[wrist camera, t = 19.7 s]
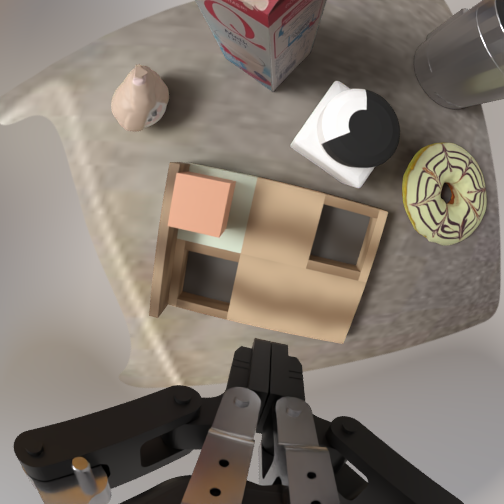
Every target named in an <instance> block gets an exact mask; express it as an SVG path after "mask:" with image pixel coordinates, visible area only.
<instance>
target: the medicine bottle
mask: <svg viewBox="0 0 504 504" xmlns="http://www.w3.org/2000/svg"><path fill="white" fill-rule="evenodd" d="M399 137H400V127H399V122H398V119H397V116H396V114H395V112H394V110H393V109H392V107H391V106H390V105H389V103H388V102H387V101H386V100H385V99H383V98H382V97H381V96H379V95H378V94H376V93H374V92H371V91H368V90H365V89H350V88H349V87H347V86H346V85H344V84H343V83H341V82H340V81H335V82H334V83H333V84H332V86H331V87H330V89H329V90H328V91H327V93H326V94H325V96H324V97H323V98H322V100H321V101H320V103H319V104H318V106H317V107H316V108H315V110H314V111H313V113H312V114H311V116H310V117H309V118H308V120H307V121H306V123H305V124H304V126H303V127H302V129H301V130H300V131H299V133H298V134H297V136H296V137H295V139H294V140H293V142H292V143H291V148H292V149H294V150H295V151H297V152H298V153H300V154H301V155H303V156H304V157H306V158H307V159H308V160H310V161H311V162H313V163H314V164H316V165H317V166H318V167H320V168H321V169H323V170H324V171H326V172H327V173H328V174H330V175H331V176H333V177H334V178H335V179H337V180H338V181H339V182H341V183H343V184H346V185H349V186H353V187H356V188H360V187H361V186H362V185H363V184H364V182H365V181H366V179H367V178H368V176H369V175H370V173H371V172H372V170H373V169H374V167H375V166H378V165H380V164H382V163H384V162H386V161H387V160H388V159H389V158H390V157H391V156H392V155H393V153H394V152H395V150H396V148H397V146H398V142H399Z"/></svg>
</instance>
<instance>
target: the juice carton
mask: <svg viewBox="0 0 504 504" xmlns="http://www.w3.org/2000/svg"><path fill="white" fill-rule="evenodd" d="M195 1H196V3H197V5H198V7H199V9H200V10H201V12H202V14H203V16H204V18H205V20H206V22H207V23H208V25H209V27H210V29H211V31H212V33H213V35H214V37H215V39H216V41H217V42H218V44H219V46H220V48H221V50H222V52H223V54H224V56H225V58H226V59H227V60H229V61H230V62H232V63H233V64H235V65H236V66H237V67H239V68H240V69H242V70H243V71H245V72H246V73H247V74H249V75H250V76H252V77H253V78H254V79H256V80H257V81H258V82H260V83H261V84H263V85H264V86H265V87H267V88H268V89H269V90H271V91H272V92H273V91H274V90H275V89H276V88H277V87H278V86H279V85H280V84H281V83H282V82H283V81H284V79H285V78H286V77H287V76H288V75H289V74H290V73H291V72H292V71H293V70H294V69H295V68H296V67H297V66H298V65H299V64H300V63H301V62H302V61H303V60H304V59H305V58H306V57H307V56H308V55H309V54H310V53H311V50H312V47H313V43H314V40H315V37H316V33H317V30H318V27H319V24H320V20H321V17H322V14H323V10H324V7H325V4H326V0H195Z"/></svg>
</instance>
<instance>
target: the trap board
mask: <svg viewBox="0 0 504 504" xmlns="http://www.w3.org/2000/svg"><path fill="white" fill-rule="evenodd" d="M179 172H193V173H199V174H204V175H209V176H214V177H219V178H224V179H228V180H233V181H236V184H235V189H234V194H233V198H232V203H231V208H230V213H229V218H228V222H227V227H226V230H225V231H224V232H223V234H222V235H221V236H220V238H218V237H214V236H209V235H205V234H201V233H196V232H192V231H188V230H183V229H179V228H175V227H170V226H168V220H169V214H170V208H171V202H172V196H173V190H174V185H175V179H176V174H177V173H179ZM387 214H388V212H387V211H384V210H382V209H380V208H376V207H373V206H370V205H366V204H363V203H359V202H356V201H352V200H349V199H345V198H342V197H338V196H334V195H331V194H327V193H323V192H319V191H315V190H312V189H308V188H304V187H300V186H296V185H292V184H287V183H283V182H279V181H275V180H271V179H266V178H262V177H257V176H253V175H248V174H244V173H239V172H234V171H229V170H225V169H220V168H215V167H209V166H204V165H199V164H194V163H188V162H170V164H169V169H168V175H167V180H166V186H165V192H164V198H163V204H162V210H161V217H160V224H159V231H158V238H157V246H156V253H155V262H154V270H153V280H152V290H151V300H150V312H149V316H153V317H156V318H158V317H159V316H160V314H161V313H162V312H163V310H164V309H165V308H166V306H167V305H168V304H169V305H172V306H176V307H180V308H183V309H187V310H191V311H195V312H198V313H202V314H206V315H210V316H214V317H218V318H222V319H226V320H231V321H235V322H239V323H243V324H248V325H252V326H256V327H261V328H265V329H270V330H275V331H279V332H284V333H289V334H294V335H299V336H304V337H309V338H314V339H320V340H325V341H330V342H336V343H342V344H343V343H344V340H345V338H346V335H347V333H348V330H349V328H350V325H351V323H352V320H353V318H354V315H355V312H356V310H357V307H358V304H359V301H360V299H361V296H362V293H363V290H364V288H365V285H366V282H367V279H368V276H369V273H370V270H371V267H372V264H373V261H374V258H375V255H376V252H377V248H378V245H379V242H380V239H381V235H382V232H383V228H384V225H385V222H386V218H387Z"/></svg>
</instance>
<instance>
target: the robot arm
mask: <svg viewBox="0 0 504 504" xmlns="http://www.w3.org/2000/svg"><path fill="white" fill-rule="evenodd" d="M414 69H415V73H416V76H417V79H418V81H419V83H420V85H421V86H422V88H423V89H424V91H425V92H426V93H427V94H428V96H429V97H430V98H431V99H433V100H434V101H435V102H436V103H438V104H440V105H441V106H443V107H446V108H449V109H460V108H465V107H469V106H473V105H478V104H482V103H487V102H491V101H496V100H501V99H504V0H482V1H481V2H479V3H478V4H477V5H475V6H474V7H472V8H471V9H469V10H468V9H461V10H460V11H459V12H457V13H456V14H455V15H453V16H452V17H451V18H449V19H448V20H447V21H445V22H444V23H443V24H441V25H440V26H439V27H438V28H436V29H435V30H434V31H432V32H431V33H430V34H429V35H428V36H427V41H425V42H424V43H423V44H421V45H420V46H419V48H418V49H417V51H416V53H415V57H414ZM302 373H303V372H302V365H301V363H300V362H299V360H298V359H297V358H296V357H291V356H288V345H285V344H281V343H276V342H271V341H266V340H261V339H257V338H255V339H254V342H253V346H252V348H247V347H243V346H241V347H240V348H238V349H237V350H236V351H235V354H234V358H233V362H232V366H231V370H230V374H229V378H228V383H227V388H226V390H225V392H224V393H223V394H221V395H219V396H217V397H212V398H201V396H200V394H199V393H198V392H197V391H195V390H194V389H192V388H190V387H187V386H181V385H176V386H171V387H169V388H166V389H163V390H160V391H158V392H155V393H152V394H149V395H147V396H144V397H141V398H138V399H135V400H133V401H129V402H126V403H124V404H120V405H117V406H114V407H111V408H108V409H105V410H102V411H99V412H95V413H92V414H89V415H85V416H82V417H78V418H75V419H71V420H68V421H64V422H61V423H57V424H53V425H49V426H45V427H41V428H37V429H33V430H29V431H25V432H23V433H21V434H20V435H19V436H18V437H17V438H16V439H15V442H14V451H15V454H16V456H17V458H18V460H19V461H20V463H21V465H22V468H23V470H24V472H25V473H26V475H27V477H28V478H29V479H30V481H31V482H32V484H33V486H34V487H35V488H36V489H37V490H38V492H39V494H40V496H41V498H42V500H43V502H44V504H107V503H108V502H109V501H110V499H111V488H114V487H117V486H119V485H122V484H124V483H127V482H129V481H132V480H134V479H136V478H138V477H141V476H143V475H145V474H148V473H150V472H152V471H154V470H156V469H159V468H161V467H163V466H165V465H167V464H169V463H171V462H173V461H175V460H177V459H179V458H181V457H183V456H185V455H187V454H189V453H190V452H191V451H192V450H193V449H202V450H201V452H200V455H199V458H198V461H197V463H196V466H195V468H194V471H193V473H192V475H187V476H180V477H175V478H172V479H169V480H166V481H164V482H162V483H160V484H158V485H156V486H155V487H153V488H151V489H149V490H147V491H145V492H143V493H141V494H139V495H137V496H135V497H133V498H130V499H128V500H126V501H124V502H122V503H120V504H464V503H463V502H462V501H461V500H459V499H458V498H456V497H455V496H454V495H452V494H451V493H449V492H448V491H447V490H445V489H444V488H442V487H441V486H440V485H438V484H437V483H436V482H434V481H433V480H432V479H430V478H429V477H428V476H426V475H425V474H424V473H422V472H421V471H420V470H419V469H417V468H416V467H414V466H413V465H412V464H411V463H409V462H408V461H407V460H405V459H404V458H403V457H402V456H400V455H399V454H398V453H397V452H395V451H394V450H393V449H392V448H390V447H389V446H388V445H387V444H386V443H384V442H383V441H382V440H380V439H379V438H378V437H377V436H375V435H374V434H373V433H372V432H371V431H370V430H368V429H367V428H366V427H365V426H363V425H362V424H361V423H360V422H359V421H357V420H355V419H353V418H351V417H346V416H341V417H337V418H335V419H334V420H333V421H332V422H329V421H327V420H324V419H321V418H319V417H317V416H315V415H313V414H312V410H311V408H310V406H309V405H308V404H307V403H306V402H305V394H304V383H303V375H302ZM255 430H256V433H261V434H262V440H261V443H260V445H259V449H258V456H259V485H258V484H255V483H253V482H250V481H247V476H248V471H249V467H250V462H251V458H252V453H253V448H254V443H255V440H253V439H254V434H255ZM347 460H348V461H349V462H350V463H351V464H353V465H354V466H355V467H356V468H357V469H358V470H359V471H360V472H362V473H363V474H364V475H365V476H366V477H367V479H368V482H366V481H365V480H364V479H363V478H362V477H360V476H359V475H358V474H357V473H356V472H355V471H354V470H353V469H351V468H350V467H349V466H348V465H347V464H346V461H347Z"/></svg>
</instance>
